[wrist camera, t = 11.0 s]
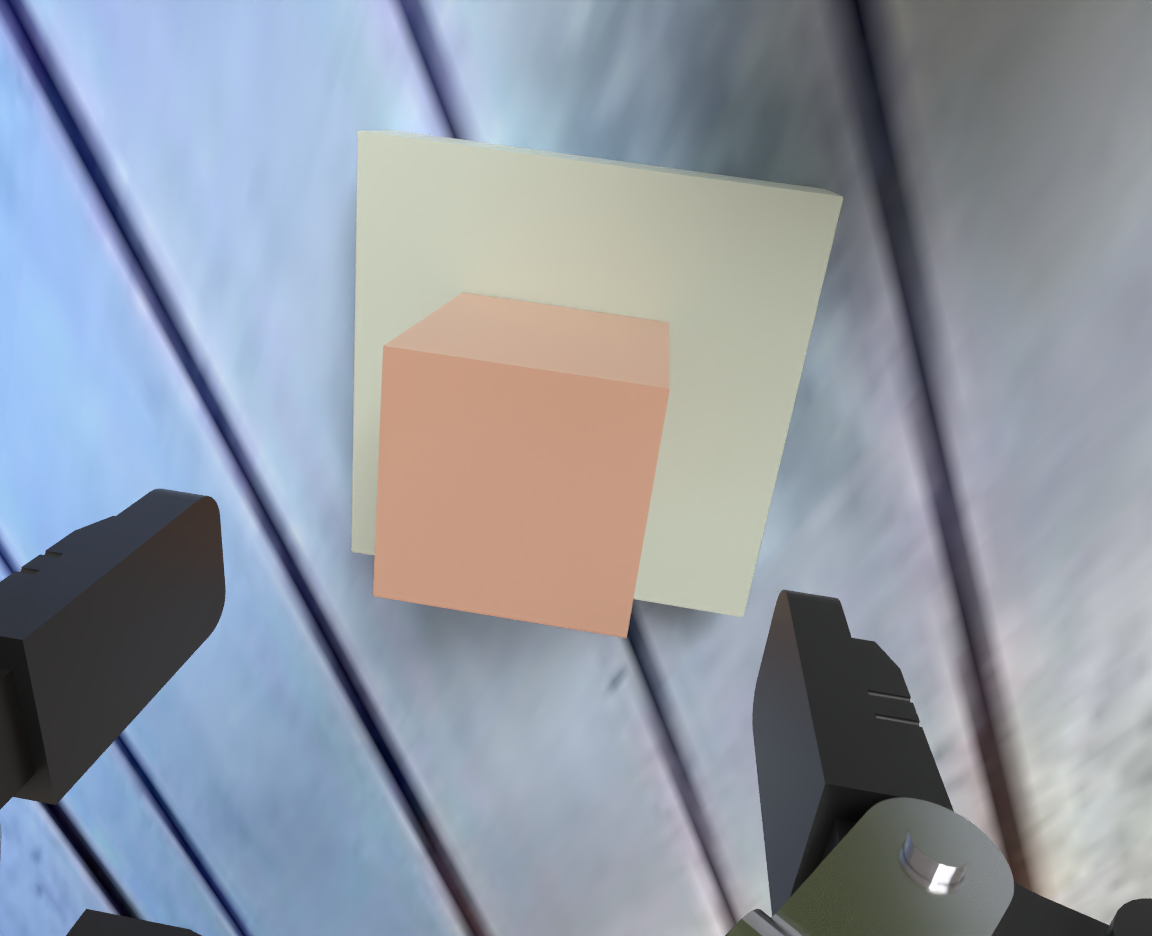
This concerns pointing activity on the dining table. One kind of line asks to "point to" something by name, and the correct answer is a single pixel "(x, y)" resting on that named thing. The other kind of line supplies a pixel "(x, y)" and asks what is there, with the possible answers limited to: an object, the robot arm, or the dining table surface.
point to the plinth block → (616, 286)
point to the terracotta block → (519, 460)
